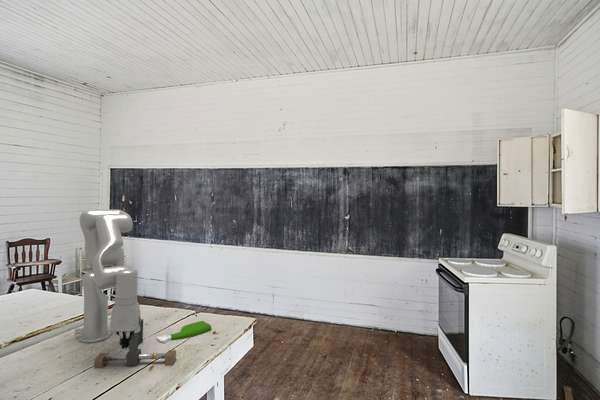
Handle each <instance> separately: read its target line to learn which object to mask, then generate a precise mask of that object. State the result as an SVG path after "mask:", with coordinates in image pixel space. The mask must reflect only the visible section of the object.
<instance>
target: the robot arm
mask: <svg viewBox="0 0 600 400" xmlns="http://www.w3.org/2000/svg"><path fill="white" fill-rule="evenodd" d="M79 226H80V229H81V232H82V234H83V237H84V253H85V254H84V255H85V257H84V258H85V259H84V260H85V264H86V266H87V267H90V268H92V270H89V271H86V272H85V273H84V274H83V275H82V277H81V283H82V290H83V327H82V328H80V327H79V328H75V329H74V335H80V336H79V337H78V339H79V342H82V343H85V344H86V343H87V344H88V343H89V344H90V343H96V342H97V343H98V342H101V341H104V340H106V339H108V338H110V337H111V336H112V334H116V335H117V336H118V337H119V340H120V339H121V344H120V346H121V349H122V350H125V349H128V348H129V341H130V340H131V335H132V334H133V333H137V332H139V331H140V330H141V329H140V325H141V319H142V318H141V308H140V303H139V302H138V270H137V269H135V268H134V267H133V266H131V265H129V264H128V265H127V264H126V265H125V252H124V249H123V246H124V239H123V237H122V233H129V232H131V231H132V229H133V226H134V222H133V218H132V217H131V215H130V214H128V213H127V212H126V211H123V210H121V209H89V210H88V209H87V210H85V211H82V212H81V213H80V215H79ZM107 266H110V267H107ZM113 288H115V296H114V297H112V298H111V302H114V304H113V305H112V309H111V314H110V322H109V321H108V320H109V319H108V318H109V316H108V315H109V314H108V313H109V311H108V310H109V298H108V296H107V294H105V293H104V292H103V290H106V289H113ZM108 322H109V325H108ZM108 326H109V329H110V330H109V329H108ZM125 332H127V334H126V333H125Z"/></svg>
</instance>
